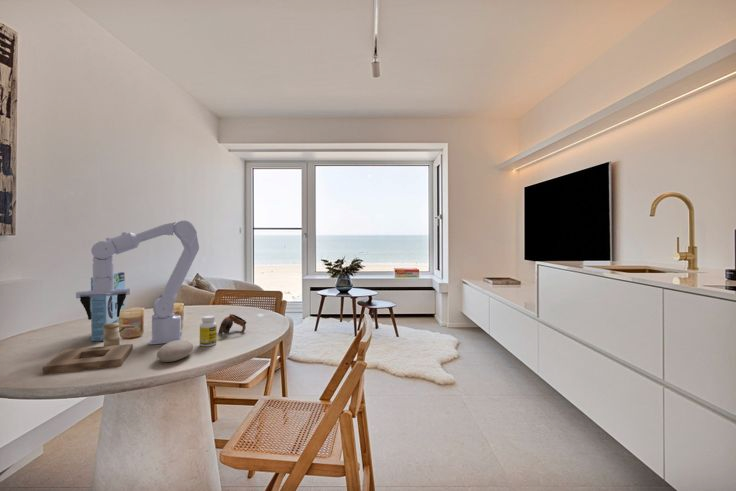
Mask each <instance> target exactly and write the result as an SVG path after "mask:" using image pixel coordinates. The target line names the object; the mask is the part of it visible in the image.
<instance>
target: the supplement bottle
mask: <svg viewBox="0 0 736 491" xmlns="http://www.w3.org/2000/svg"><path fill="white" fill-rule="evenodd" d="M201 318H202V319H201V320H202V323H200V325H199V346H201V347H212V346H216V345H217V335H218V333H217V332H218V331H217V330H218V327H217V326H218V325H217V322H216V321H215V319H216V318H215V315H205V316H202V317H201Z"/></svg>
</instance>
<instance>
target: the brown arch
mask: <svg viewBox="0 0 736 491" xmlns="http://www.w3.org/2000/svg"><path fill="white" fill-rule="evenodd" d="M247 323H248V322H247V321H246V320H245V319H243V318H242V317H240V316H238V315H236V314H233V313H229V316H227V317H225V318H224V319H223V320H222V321H221V323H220V325H219V328H218V331H217V332H218V333H217V334H219V335H220V334H221V336H223V334H225V335H226V334H229V332H230V330H231V329H232V327H233V325H234V324H237V325H239V326H240V327H242V329H241V333H242V334H244V333H245V330H246V327H247V326H246V324H247Z"/></svg>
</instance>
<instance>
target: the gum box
mask: <svg viewBox="0 0 736 491" xmlns="http://www.w3.org/2000/svg"><path fill="white" fill-rule="evenodd" d="M125 282H126V281H125V271H124V272H123V271H122V272H117V271H116V272H115V271H114V289H126V287H125V286H126V285H125V284H126V283H125ZM92 290H93V276H92V277H90V291H92ZM109 294H111V293H109ZM97 295H103V294H97ZM121 309H125V310H126V299H125V300H124V302H123V304H122V307H121ZM91 315H92V318H91V323H90V324H91V327H90V328H91V341H90V342H104V329H103V325H104V324H108V323H119V317H117V295H113V296H99V297H91Z"/></svg>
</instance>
